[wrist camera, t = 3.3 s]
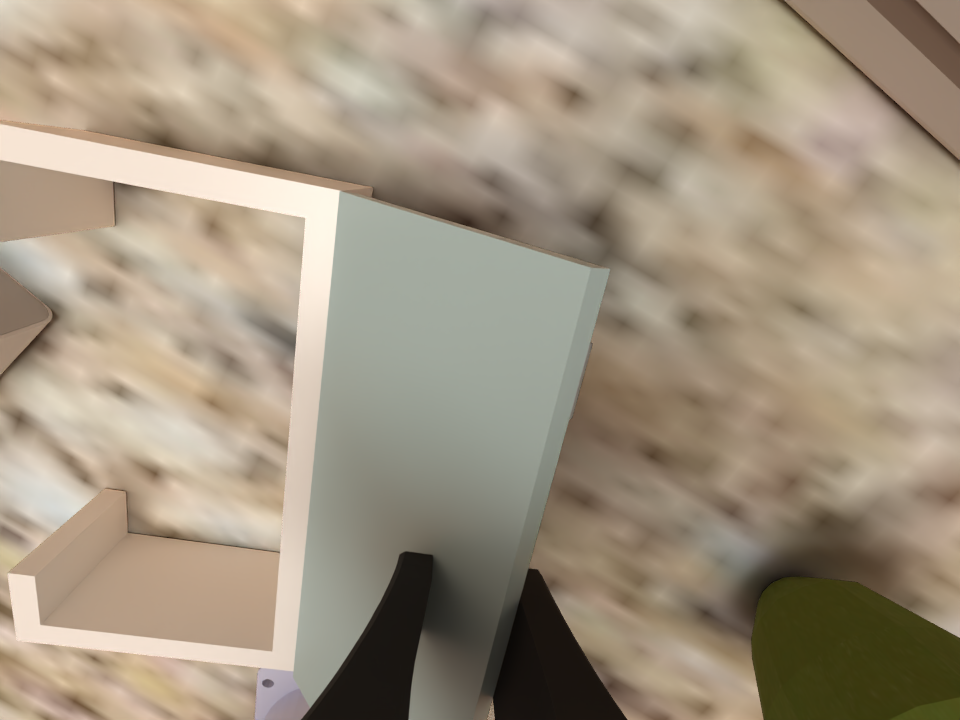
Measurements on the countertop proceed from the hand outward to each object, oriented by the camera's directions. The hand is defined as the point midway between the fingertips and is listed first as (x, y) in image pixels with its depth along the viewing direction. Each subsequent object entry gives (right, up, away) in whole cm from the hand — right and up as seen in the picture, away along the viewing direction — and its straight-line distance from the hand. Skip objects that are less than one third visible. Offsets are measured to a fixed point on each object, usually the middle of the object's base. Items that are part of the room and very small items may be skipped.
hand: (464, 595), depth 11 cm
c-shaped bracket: (-9, +4, +8) cm, 13 cm away
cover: (-2, 0, +1) cm, 2 cm away
